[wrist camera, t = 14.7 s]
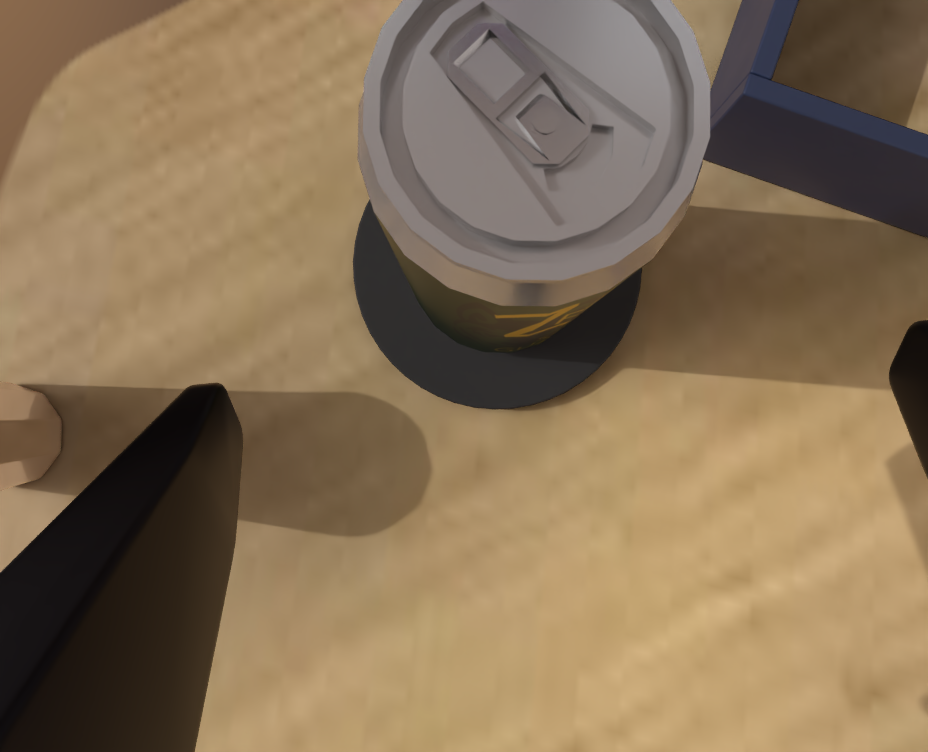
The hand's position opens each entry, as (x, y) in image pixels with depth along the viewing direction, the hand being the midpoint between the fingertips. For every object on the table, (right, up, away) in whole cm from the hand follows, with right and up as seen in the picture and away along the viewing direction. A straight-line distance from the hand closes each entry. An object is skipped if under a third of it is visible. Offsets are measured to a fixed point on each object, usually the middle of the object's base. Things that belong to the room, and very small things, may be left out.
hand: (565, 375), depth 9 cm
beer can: (0, +3, +13) cm, 13 cm away
